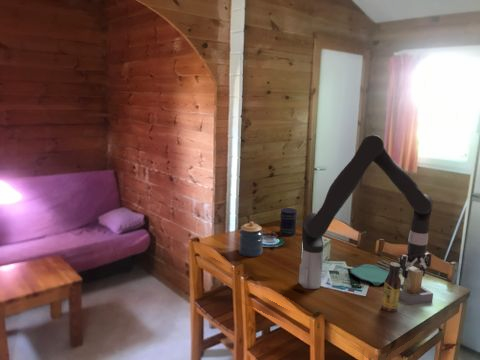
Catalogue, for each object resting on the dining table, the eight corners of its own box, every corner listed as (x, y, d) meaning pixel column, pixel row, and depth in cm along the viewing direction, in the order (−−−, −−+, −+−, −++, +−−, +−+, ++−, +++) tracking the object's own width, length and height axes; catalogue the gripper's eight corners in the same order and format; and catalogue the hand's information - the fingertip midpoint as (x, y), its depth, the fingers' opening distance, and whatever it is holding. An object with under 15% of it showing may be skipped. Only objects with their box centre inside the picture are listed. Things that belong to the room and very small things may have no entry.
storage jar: (279, 235, 256) (280, 212, 253) (280, 230, 265) (281, 207, 262) (295, 236, 254) (296, 213, 251) (296, 231, 264) (297, 208, 260)
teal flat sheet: (342, 274, 205) (342, 269, 204) (379, 261, 222) (379, 257, 222) (377, 290, 189) (377, 285, 189) (413, 275, 207) (414, 271, 207)
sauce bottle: (378, 304, 176) (383, 260, 171) (393, 304, 176) (398, 260, 172) (385, 313, 169) (390, 267, 165) (400, 312, 170) (405, 267, 165)
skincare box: (401, 292, 185) (404, 266, 183) (408, 290, 187) (412, 265, 184) (412, 299, 179) (416, 272, 177) (420, 297, 181) (423, 271, 179)
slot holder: (408, 305, 176) (409, 296, 175) (390, 291, 187) (391, 284, 186) (432, 301, 179) (433, 293, 179) (413, 288, 191) (414, 281, 190)
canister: (266, 251, 230) (267, 220, 226) (254, 259, 219) (255, 227, 216) (246, 246, 237) (247, 216, 233) (233, 253, 226) (234, 222, 222)
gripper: (425, 237, 183) (421, 271, 187) (397, 239, 179) (393, 274, 183) (438, 243, 176) (433, 279, 180) (409, 245, 172) (404, 282, 176)
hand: (413, 276), depth 181 cm, fingers open, 8 cm apart
